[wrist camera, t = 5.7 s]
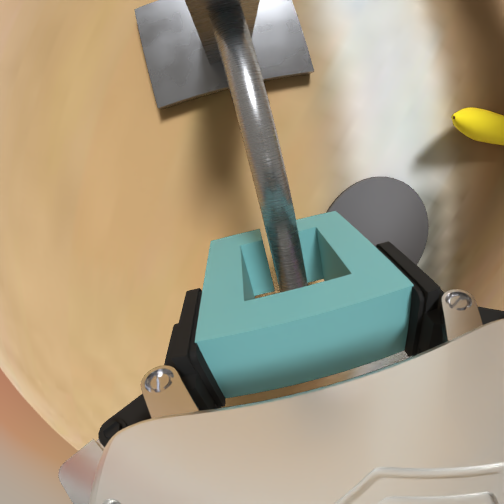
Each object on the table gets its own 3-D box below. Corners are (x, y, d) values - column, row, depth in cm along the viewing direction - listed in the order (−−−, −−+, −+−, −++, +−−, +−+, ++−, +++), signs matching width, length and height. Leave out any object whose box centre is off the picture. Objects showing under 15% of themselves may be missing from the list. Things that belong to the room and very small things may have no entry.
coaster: (423, 168, 19) (426, 168, 18) (423, 275, 23) (425, 277, 23) (307, 191, 19) (308, 192, 19) (325, 306, 23) (326, 309, 23)
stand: (279, -20, 13) (319, -116, 2) (338, 211, 20) (424, 294, 10) (138, 14, 13) (62, -61, 3) (203, 244, 20) (178, 358, 10)
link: (335, 210, 15) (413, 284, 8) (341, 258, 16) (405, 349, 9) (210, 241, 15) (194, 341, 8) (225, 287, 17) (224, 398, 9)
